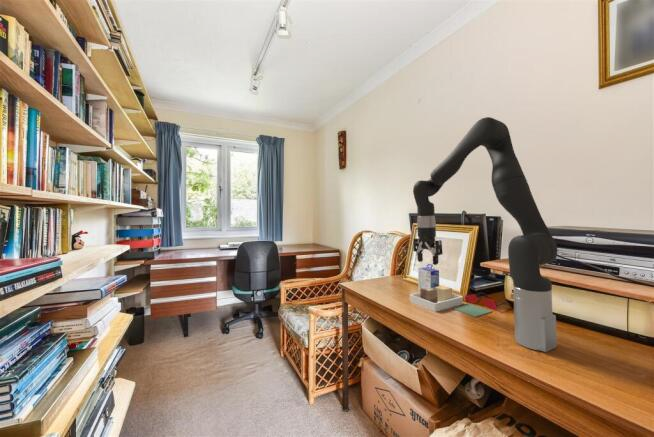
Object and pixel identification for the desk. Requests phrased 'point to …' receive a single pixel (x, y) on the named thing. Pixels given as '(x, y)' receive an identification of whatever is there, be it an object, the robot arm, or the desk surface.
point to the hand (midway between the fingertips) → (427, 262)
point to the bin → (438, 306)
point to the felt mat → (472, 310)
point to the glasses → (487, 302)
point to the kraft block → (444, 293)
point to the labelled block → (429, 294)
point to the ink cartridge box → (428, 277)
